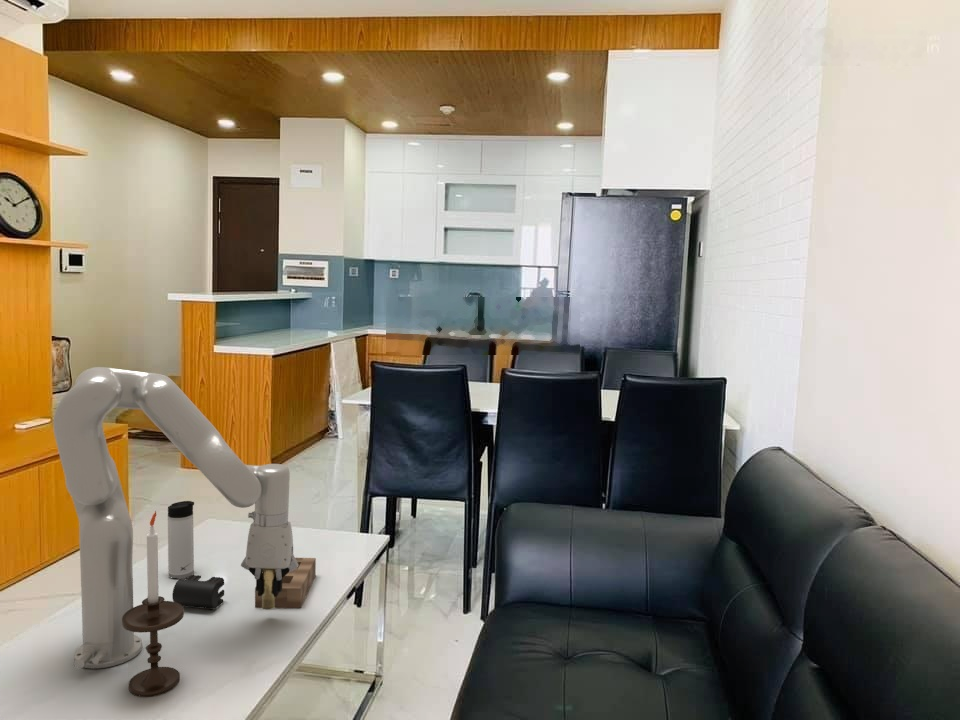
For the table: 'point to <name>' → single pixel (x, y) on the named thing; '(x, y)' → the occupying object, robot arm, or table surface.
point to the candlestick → (153, 628)
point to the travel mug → (180, 539)
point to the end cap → (198, 592)
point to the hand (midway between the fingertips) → (268, 593)
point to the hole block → (294, 585)
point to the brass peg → (268, 588)
